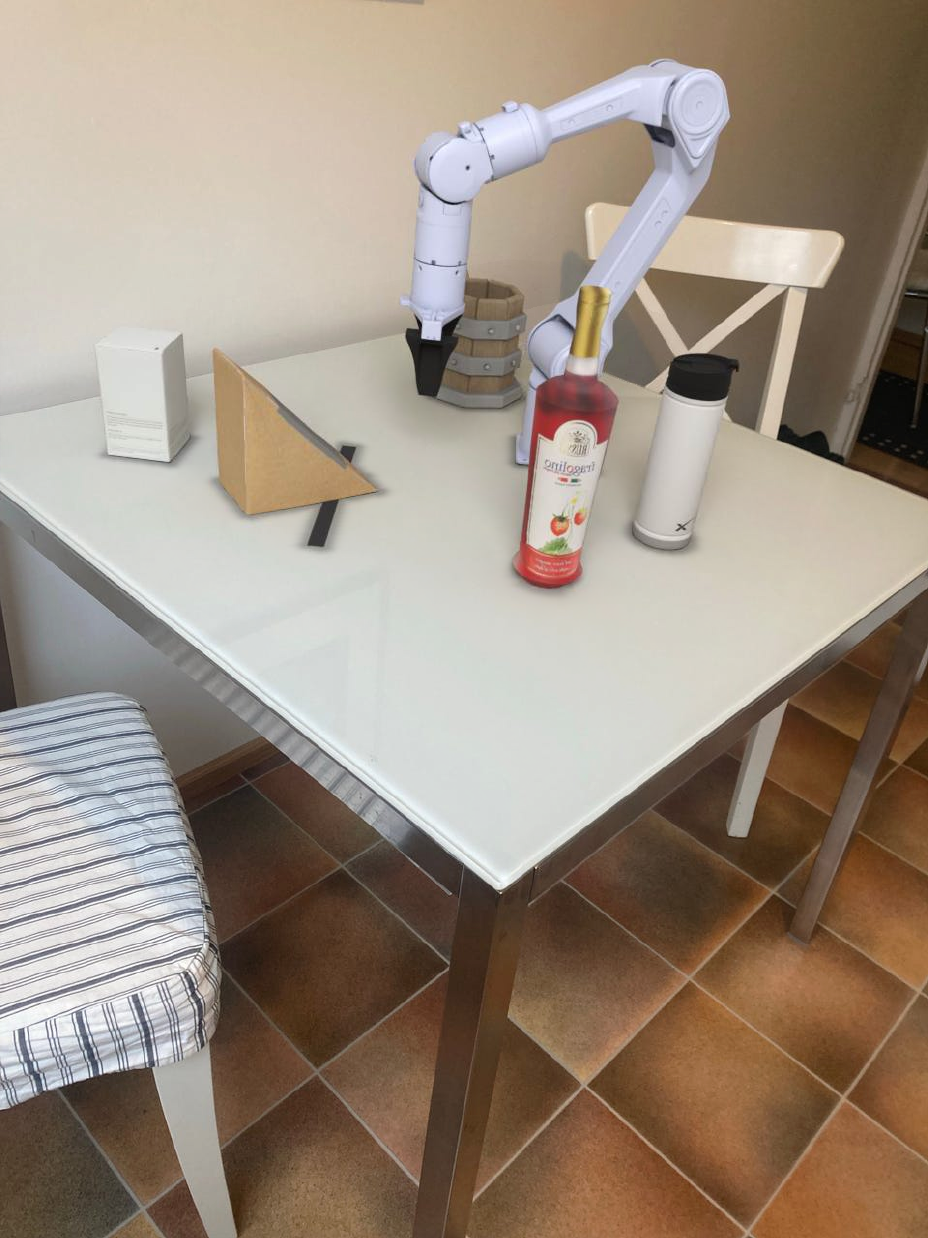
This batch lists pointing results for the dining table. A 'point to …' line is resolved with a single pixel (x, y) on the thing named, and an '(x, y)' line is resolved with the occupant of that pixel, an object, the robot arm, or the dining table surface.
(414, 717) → the dining table surface
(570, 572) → the liquor
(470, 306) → the tankard
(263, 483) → the sandwich container
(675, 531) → the travel mug
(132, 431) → the white packaging box
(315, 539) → the tape line
